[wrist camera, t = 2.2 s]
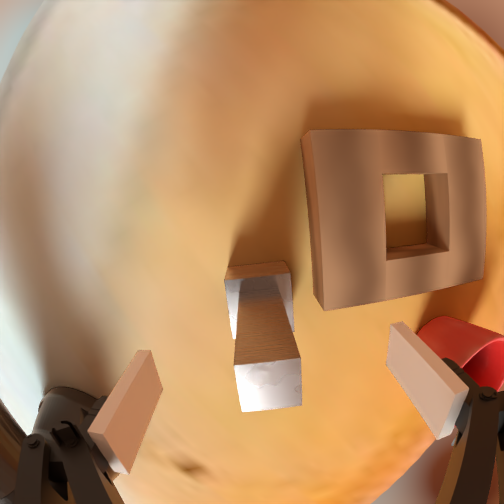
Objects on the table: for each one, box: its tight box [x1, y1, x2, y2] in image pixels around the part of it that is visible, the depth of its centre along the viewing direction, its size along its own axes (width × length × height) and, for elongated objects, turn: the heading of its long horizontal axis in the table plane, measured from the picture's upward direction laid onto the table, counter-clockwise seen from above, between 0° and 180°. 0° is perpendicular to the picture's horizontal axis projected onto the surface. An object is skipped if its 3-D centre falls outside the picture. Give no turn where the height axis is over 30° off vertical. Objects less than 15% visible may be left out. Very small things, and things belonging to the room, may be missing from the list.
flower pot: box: [417, 316, 504, 427], centre depth 23 cm, size 11×11×10 cm
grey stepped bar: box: [224, 261, 302, 412], centre depth 19 cm, size 5×5×14 cm
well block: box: [300, 129, 486, 311], centre depth 23 cm, size 18×14×4 cm
